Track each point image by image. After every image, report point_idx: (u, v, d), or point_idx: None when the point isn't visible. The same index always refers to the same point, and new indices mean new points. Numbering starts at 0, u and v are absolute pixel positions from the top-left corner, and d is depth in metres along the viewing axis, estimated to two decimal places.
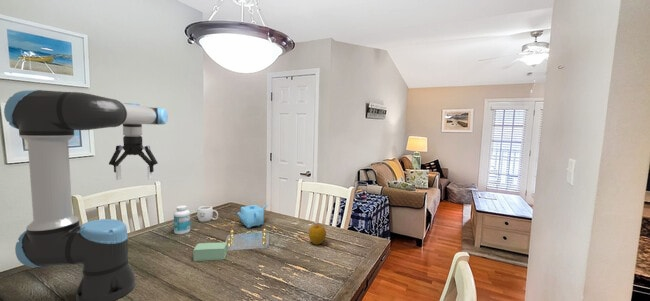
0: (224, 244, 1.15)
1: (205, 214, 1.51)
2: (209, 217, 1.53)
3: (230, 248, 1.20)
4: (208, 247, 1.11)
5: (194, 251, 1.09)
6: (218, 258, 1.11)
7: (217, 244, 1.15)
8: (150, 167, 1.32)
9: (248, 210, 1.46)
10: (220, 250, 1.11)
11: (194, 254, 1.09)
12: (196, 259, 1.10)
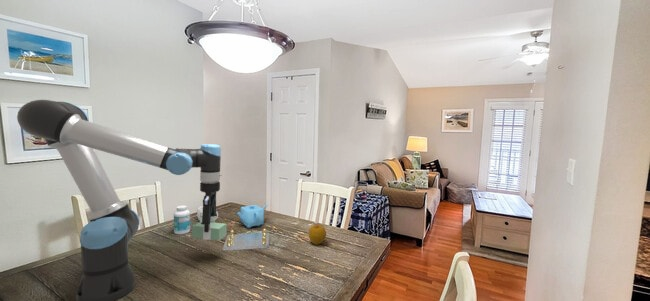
0: (222, 225, 1.12)
1: None
2: None
3: (230, 248, 1.20)
4: None
5: (192, 227, 1.10)
6: (213, 238, 1.09)
7: (216, 224, 1.13)
8: None
9: (248, 210, 1.46)
10: (216, 230, 1.08)
11: (192, 230, 1.10)
12: (194, 236, 1.10)
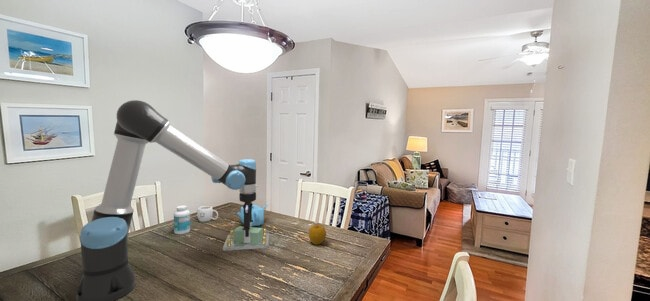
0: (259, 229, 1.28)
1: (205, 214, 1.51)
2: (209, 217, 1.53)
3: (230, 248, 1.20)
4: None
5: (234, 232, 1.25)
6: (253, 241, 1.24)
7: (254, 228, 1.28)
8: None
9: None
10: (255, 234, 1.24)
11: (234, 234, 1.25)
12: (235, 239, 1.26)
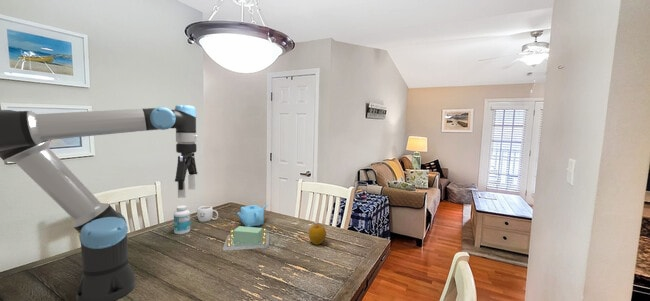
0: (259, 229, 1.28)
1: (205, 214, 1.51)
2: (209, 217, 1.53)
3: (230, 248, 1.20)
4: (245, 230, 1.26)
5: (234, 232, 1.25)
6: (253, 241, 1.24)
7: (254, 228, 1.28)
8: None
9: (248, 210, 1.46)
10: (255, 234, 1.24)
11: (234, 234, 1.25)
12: (235, 239, 1.26)
